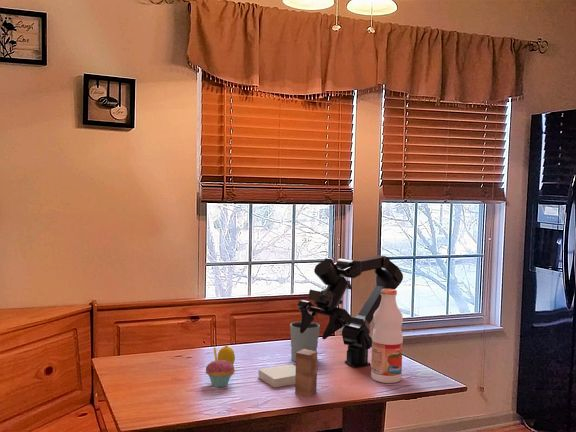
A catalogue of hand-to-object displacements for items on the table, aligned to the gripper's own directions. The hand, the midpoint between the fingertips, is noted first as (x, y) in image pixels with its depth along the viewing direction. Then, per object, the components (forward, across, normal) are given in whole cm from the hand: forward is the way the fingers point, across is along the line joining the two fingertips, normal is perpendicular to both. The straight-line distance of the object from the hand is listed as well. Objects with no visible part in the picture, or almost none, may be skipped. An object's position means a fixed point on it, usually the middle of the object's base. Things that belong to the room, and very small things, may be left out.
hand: (311, 335), depth 180 cm
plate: (+14, -6, +4) cm, 16 cm away
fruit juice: (-1, +15, +23) cm, 27 cm away
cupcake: (+26, -16, -9) cm, 31 cm away
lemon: (+20, -24, -2) cm, 31 cm away
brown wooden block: (+17, +7, +1) cm, 18 cm away
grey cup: (+2, -16, +20) cm, 25 cm away
